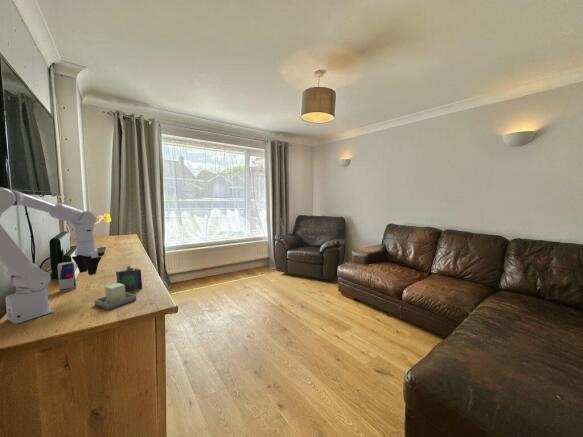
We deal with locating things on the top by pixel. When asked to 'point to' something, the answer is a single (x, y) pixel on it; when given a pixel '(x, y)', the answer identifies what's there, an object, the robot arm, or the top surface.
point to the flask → (130, 278)
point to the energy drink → (66, 276)
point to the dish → (108, 306)
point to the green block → (115, 292)
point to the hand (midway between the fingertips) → (87, 273)
